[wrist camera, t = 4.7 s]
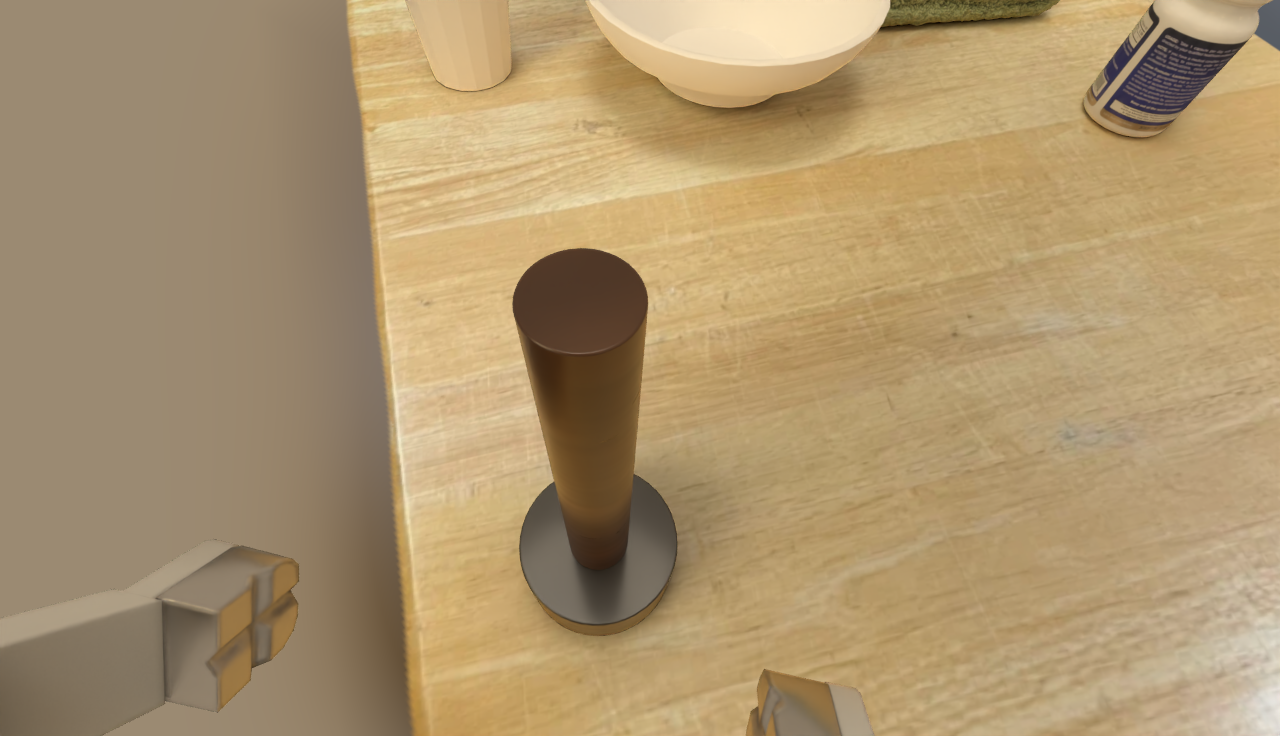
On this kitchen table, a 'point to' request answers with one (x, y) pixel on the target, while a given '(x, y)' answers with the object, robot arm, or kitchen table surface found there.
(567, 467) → the paper towel holder
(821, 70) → the bowl
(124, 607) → the robot arm
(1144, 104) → the pill bottle
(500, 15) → the shot glass
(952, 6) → the washcloth
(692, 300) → the kitchen table surface
